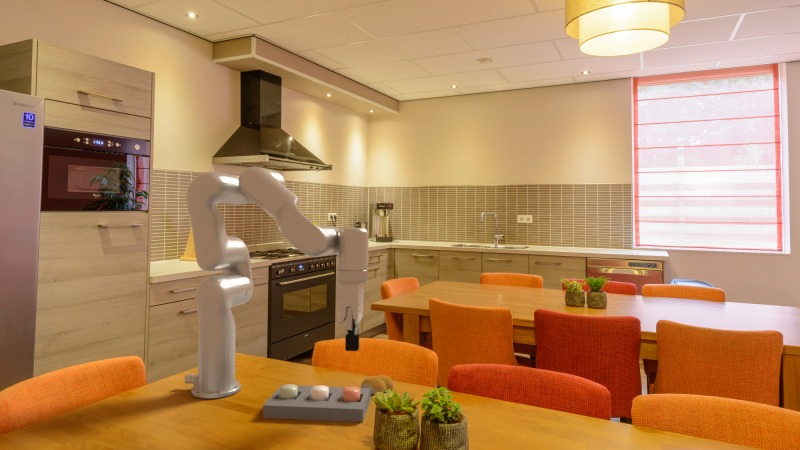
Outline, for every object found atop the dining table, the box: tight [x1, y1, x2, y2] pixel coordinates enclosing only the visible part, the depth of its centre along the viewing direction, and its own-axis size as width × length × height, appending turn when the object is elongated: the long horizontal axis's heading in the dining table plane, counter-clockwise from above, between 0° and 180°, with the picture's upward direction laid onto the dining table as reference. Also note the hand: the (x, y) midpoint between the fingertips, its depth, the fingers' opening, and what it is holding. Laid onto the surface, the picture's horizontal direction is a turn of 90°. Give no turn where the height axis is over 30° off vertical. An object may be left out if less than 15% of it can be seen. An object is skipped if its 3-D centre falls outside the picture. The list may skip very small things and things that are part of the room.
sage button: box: [279, 383, 299, 400], centre depth 117 cm, size 4×4×4 cm
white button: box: [311, 384, 330, 401], centre depth 117 cm, size 4×4×4 cm
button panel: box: [262, 384, 372, 423], centre depth 117 cm, size 24×14×3 cm, turn 86°
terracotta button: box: [342, 386, 361, 402], centre depth 116 cm, size 4×4×4 cm
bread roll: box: [360, 374, 394, 395], centre depth 131 cm, size 8×9×4 cm
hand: (352, 349), depth 116 cm, fingers closed
